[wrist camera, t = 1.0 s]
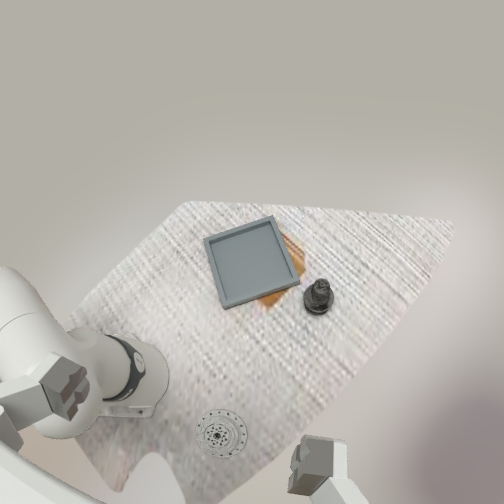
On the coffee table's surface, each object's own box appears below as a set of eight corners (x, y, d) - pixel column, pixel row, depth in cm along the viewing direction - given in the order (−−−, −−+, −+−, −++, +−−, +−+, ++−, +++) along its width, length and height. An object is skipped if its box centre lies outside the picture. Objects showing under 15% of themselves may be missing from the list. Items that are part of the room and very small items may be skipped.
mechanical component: (255, 419, 55) (207, 401, 58) (252, 421, 51) (201, 402, 54) (237, 463, 52) (190, 445, 54) (233, 468, 48) (183, 448, 50)
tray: (225, 309, 65) (222, 306, 63) (205, 243, 72) (203, 238, 70) (299, 284, 66) (299, 279, 64) (273, 220, 73) (272, 215, 71)
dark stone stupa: (314, 283, 66) (318, 259, 55) (337, 299, 63) (346, 279, 53) (297, 305, 64) (298, 285, 53) (320, 322, 62) (326, 306, 51)
